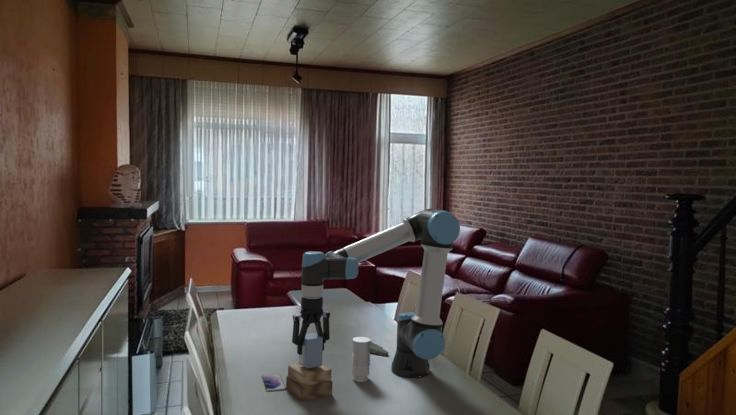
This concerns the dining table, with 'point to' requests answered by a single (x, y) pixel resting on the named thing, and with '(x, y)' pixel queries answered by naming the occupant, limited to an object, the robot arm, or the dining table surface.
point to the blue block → (313, 350)
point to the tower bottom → (308, 390)
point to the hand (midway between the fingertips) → (310, 361)
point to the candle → (360, 359)
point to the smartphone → (273, 382)
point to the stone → (377, 349)
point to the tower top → (309, 374)
